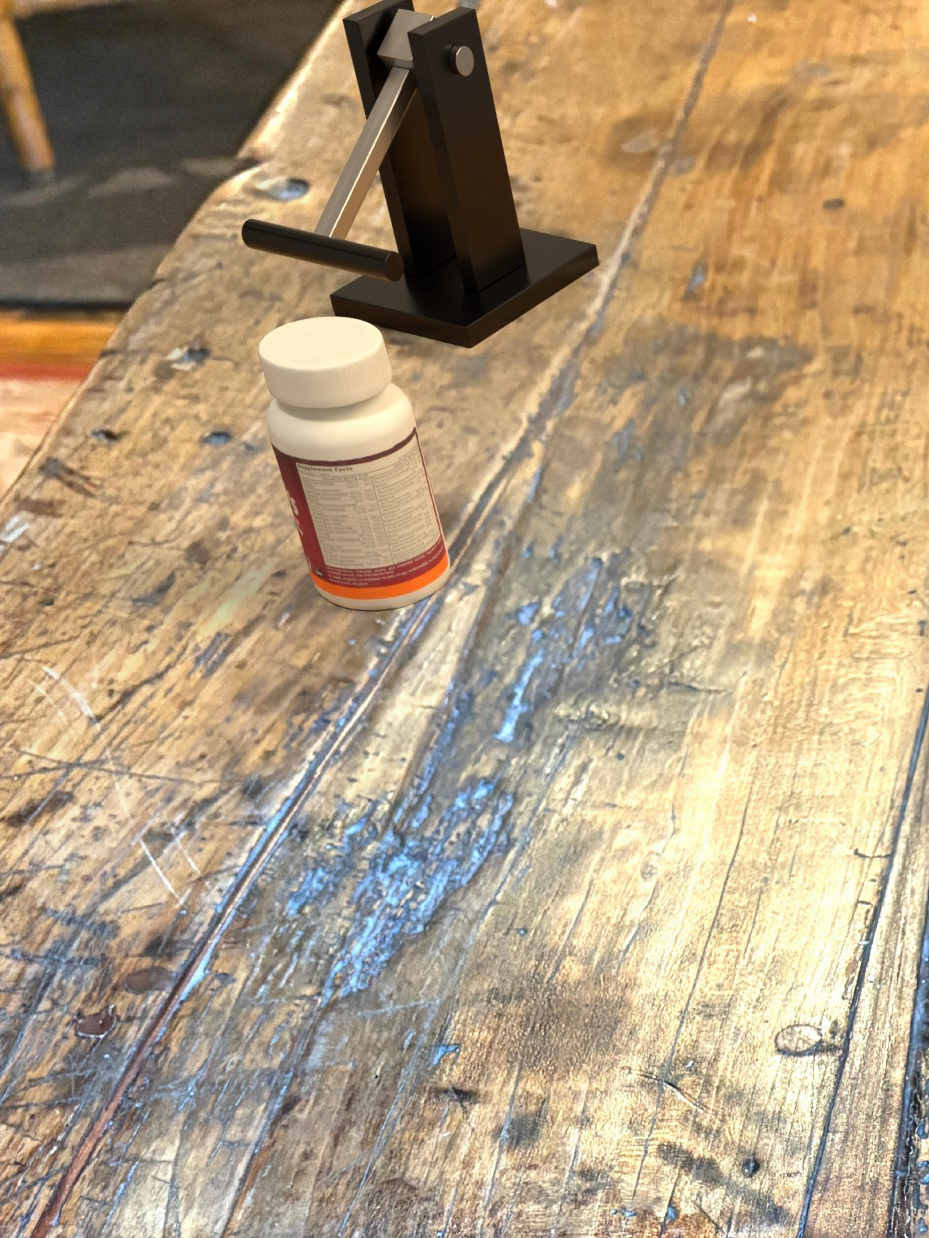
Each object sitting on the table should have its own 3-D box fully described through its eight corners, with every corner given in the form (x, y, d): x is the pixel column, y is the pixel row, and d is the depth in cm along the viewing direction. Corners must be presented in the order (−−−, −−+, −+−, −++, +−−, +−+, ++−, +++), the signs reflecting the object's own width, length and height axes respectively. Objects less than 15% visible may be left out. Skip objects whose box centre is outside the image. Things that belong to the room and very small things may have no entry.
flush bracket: (471, 351, 118) (407, 65, 108) (334, 318, 121) (259, 35, 110) (600, 267, 126) (552, -7, 116) (469, 237, 128) (410, -34, 118)
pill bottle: (323, 550, 104) (253, 312, 96) (458, 543, 105) (400, 306, 96) (307, 620, 100) (232, 377, 91) (448, 611, 100) (386, 370, 92)
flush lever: (402, 294, 112) (375, 264, 110) (259, 260, 115) (230, 230, 112) (512, 60, 115) (488, 25, 112) (370, 31, 117) (344, -3, 115)
